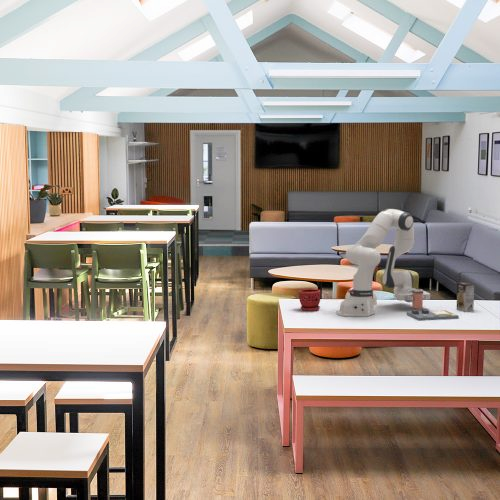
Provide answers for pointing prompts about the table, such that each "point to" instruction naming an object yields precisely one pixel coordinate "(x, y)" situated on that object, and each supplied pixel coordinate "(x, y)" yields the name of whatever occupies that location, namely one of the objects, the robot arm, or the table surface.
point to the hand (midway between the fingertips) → (418, 298)
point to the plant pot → (310, 299)
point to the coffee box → (465, 296)
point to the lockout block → (417, 299)
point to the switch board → (432, 315)
